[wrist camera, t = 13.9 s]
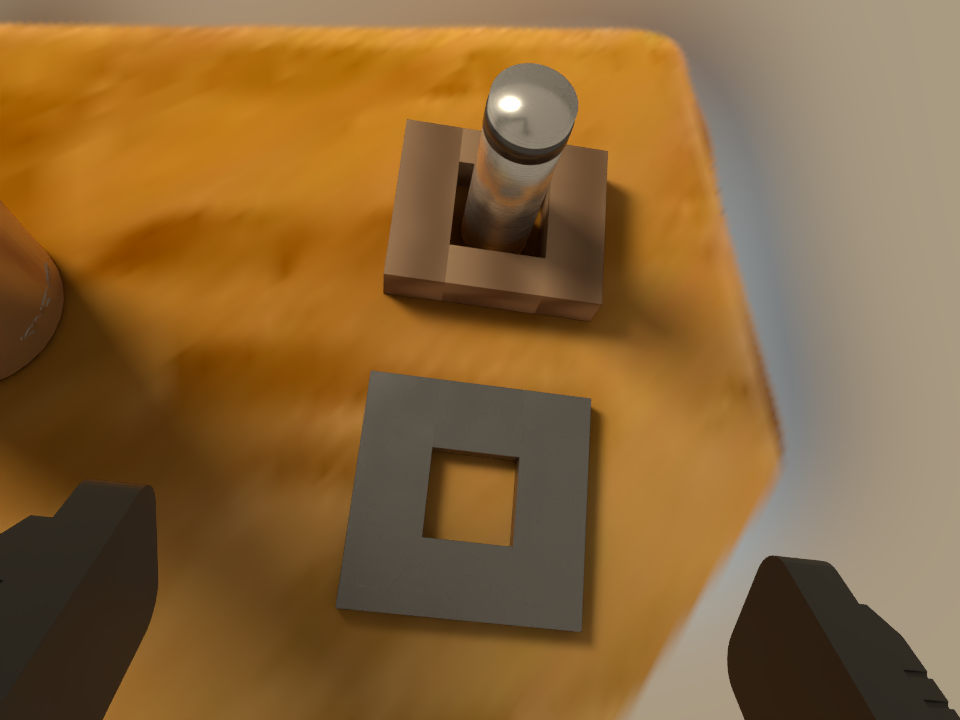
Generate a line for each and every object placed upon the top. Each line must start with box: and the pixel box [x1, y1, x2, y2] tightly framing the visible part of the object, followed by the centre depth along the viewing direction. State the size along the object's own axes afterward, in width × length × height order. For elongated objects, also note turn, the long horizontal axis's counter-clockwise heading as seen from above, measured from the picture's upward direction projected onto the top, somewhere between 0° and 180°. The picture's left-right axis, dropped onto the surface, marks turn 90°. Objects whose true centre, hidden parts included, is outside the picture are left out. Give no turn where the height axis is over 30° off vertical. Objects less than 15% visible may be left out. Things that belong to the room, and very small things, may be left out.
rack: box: [383, 119, 608, 321], centre depth 43 cm, size 12×10×2 cm
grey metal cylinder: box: [461, 63, 578, 255], centre depth 39 cm, size 4×4×12 cm
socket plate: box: [336, 371, 591, 632], centre depth 38 cm, size 12×12×1 cm
